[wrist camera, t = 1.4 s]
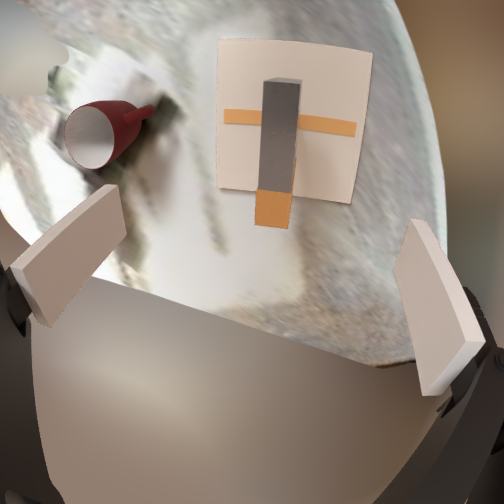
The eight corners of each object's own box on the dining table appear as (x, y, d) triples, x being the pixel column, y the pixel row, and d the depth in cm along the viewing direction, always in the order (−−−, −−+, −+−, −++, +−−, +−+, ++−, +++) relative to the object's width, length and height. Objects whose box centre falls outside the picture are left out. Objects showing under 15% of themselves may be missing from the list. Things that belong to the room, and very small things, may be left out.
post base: (220, 39, 30) (198, 34, 23) (371, 53, 28) (387, 50, 21) (218, 184, 41) (200, 210, 35) (349, 200, 39) (356, 230, 33)
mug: (154, 73, 33) (111, 80, 25) (178, 123, 37) (143, 143, 29) (100, 109, 37) (55, 126, 29) (122, 153, 41) (82, 179, 33)
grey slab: (275, 77, 25) (261, 80, 17) (303, 79, 24) (302, 84, 17) (268, 182, 31) (254, 224, 24) (293, 184, 31) (287, 229, 24)
